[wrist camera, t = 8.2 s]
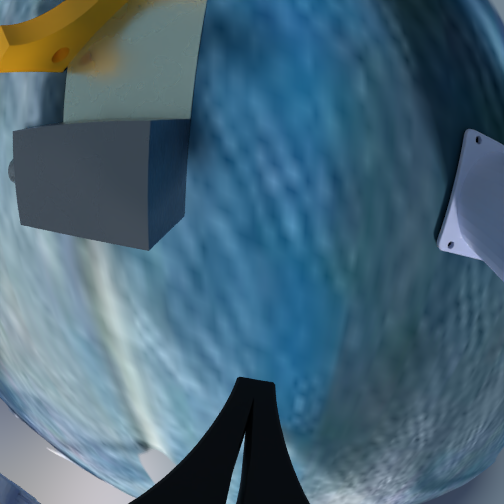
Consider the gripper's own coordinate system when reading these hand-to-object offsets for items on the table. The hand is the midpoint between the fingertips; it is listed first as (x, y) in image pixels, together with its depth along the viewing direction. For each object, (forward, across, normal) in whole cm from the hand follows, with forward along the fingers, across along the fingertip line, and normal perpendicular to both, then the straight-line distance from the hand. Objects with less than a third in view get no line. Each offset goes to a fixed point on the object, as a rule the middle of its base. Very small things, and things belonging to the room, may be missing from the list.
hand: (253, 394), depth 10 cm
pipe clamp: (+10, +14, -18) cm, 25 cm away
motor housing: (+9, +13, -14) cm, 21 cm away
